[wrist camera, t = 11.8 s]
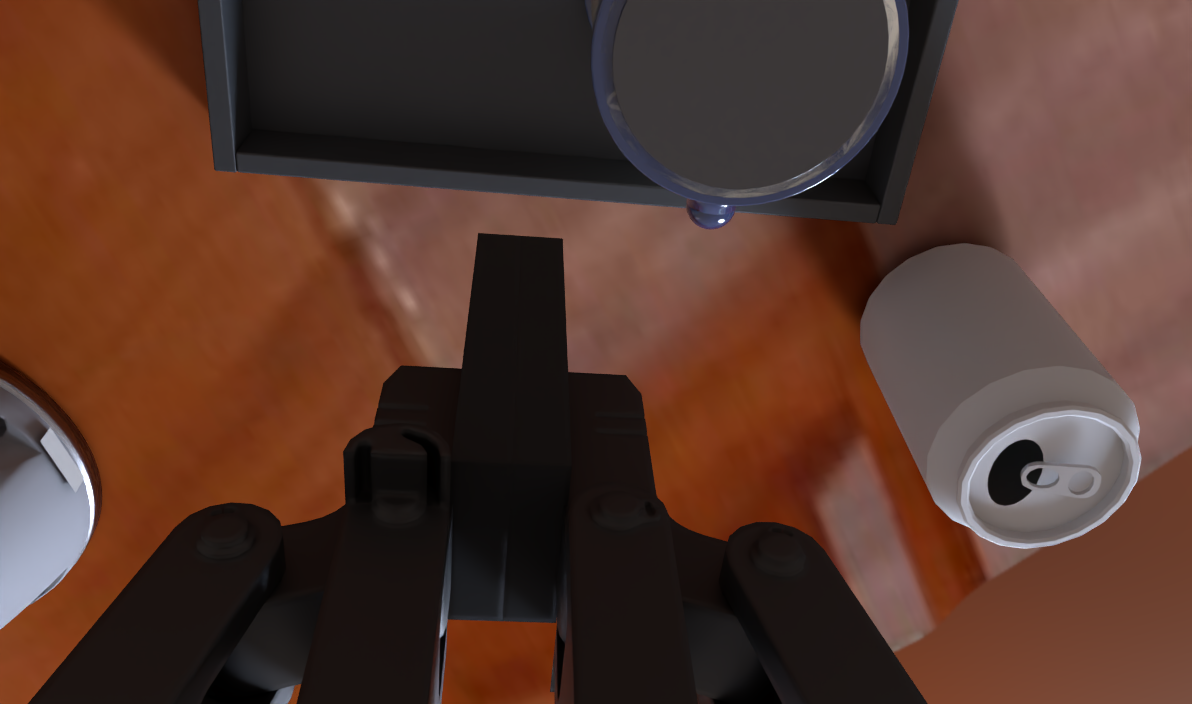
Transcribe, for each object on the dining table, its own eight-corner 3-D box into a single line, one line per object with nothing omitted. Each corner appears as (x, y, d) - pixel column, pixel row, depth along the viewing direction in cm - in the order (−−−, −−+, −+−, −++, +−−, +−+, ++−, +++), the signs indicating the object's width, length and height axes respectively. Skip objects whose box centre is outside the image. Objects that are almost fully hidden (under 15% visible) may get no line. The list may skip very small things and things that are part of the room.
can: (869, 232, 43) (967, 393, 33) (1045, 234, 43) (1195, 394, 33) (842, 382, 47) (921, 567, 37) (1003, 382, 47) (1126, 566, 37)
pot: (572, 245, 31) (855, 266, 32) (615, -203, 25) (967, -165, 25) (568, 130, 40) (792, 148, 40) (599, -225, 33) (864, -196, 34)
